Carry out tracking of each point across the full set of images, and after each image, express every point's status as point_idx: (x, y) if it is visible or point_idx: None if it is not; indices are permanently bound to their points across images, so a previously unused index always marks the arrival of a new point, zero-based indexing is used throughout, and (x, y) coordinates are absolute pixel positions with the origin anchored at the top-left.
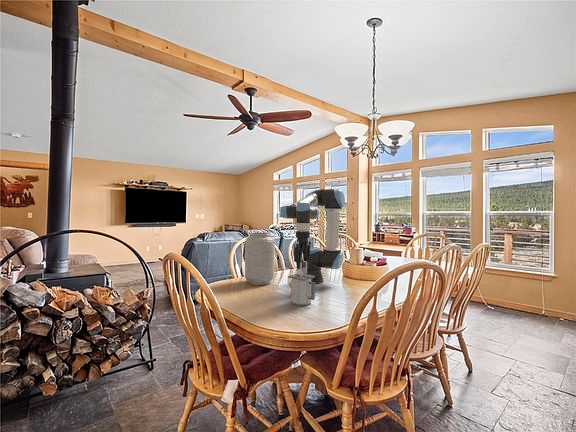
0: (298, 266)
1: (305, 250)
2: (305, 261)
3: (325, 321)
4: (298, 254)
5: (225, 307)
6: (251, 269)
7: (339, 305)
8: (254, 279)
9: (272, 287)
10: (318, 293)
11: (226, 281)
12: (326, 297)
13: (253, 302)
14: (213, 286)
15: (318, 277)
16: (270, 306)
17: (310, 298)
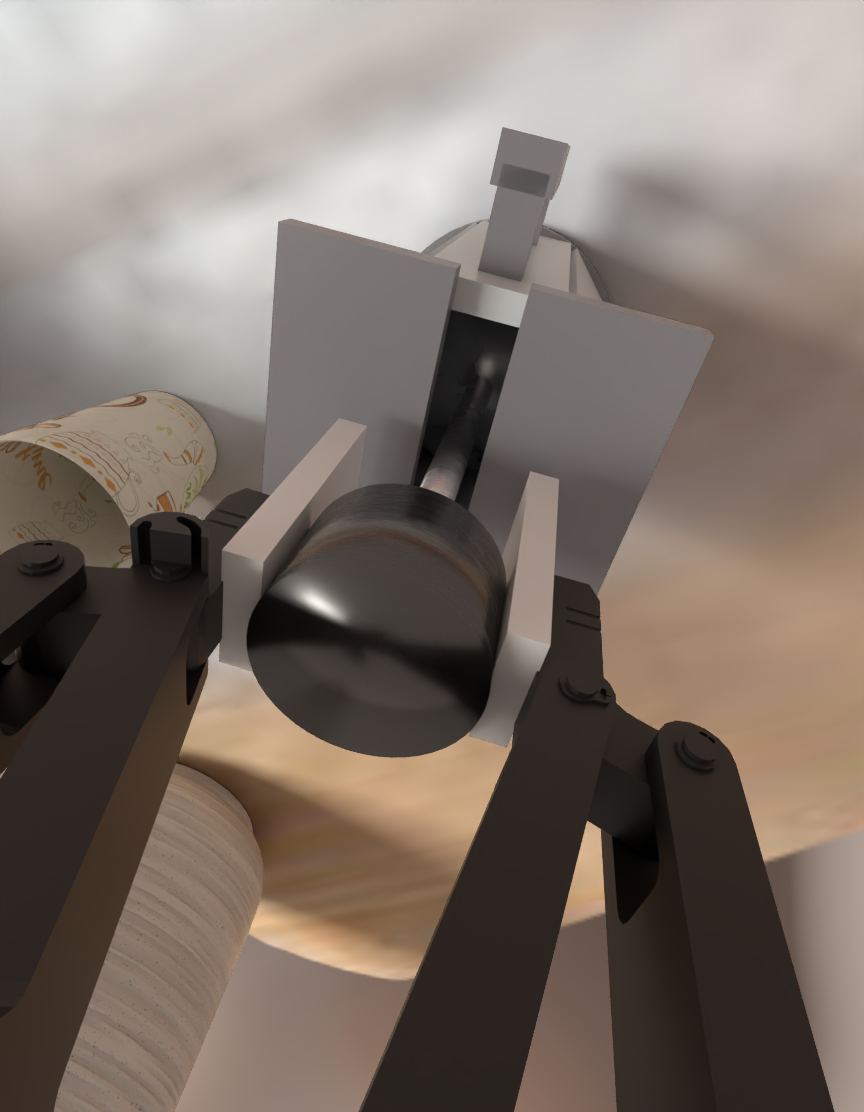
0: (600, 629)
1: (43, 966)
2: (357, 577)
3: None
4: (741, 1009)
5: (854, 829)
6: (230, 957)
7: None
8: (254, 859)
9: (218, 711)
10: (67, 285)
11: (302, 945)
12: (126, 123)
13: (663, 716)
14: None
15: None
16: (725, 575)
17: (548, 201)
